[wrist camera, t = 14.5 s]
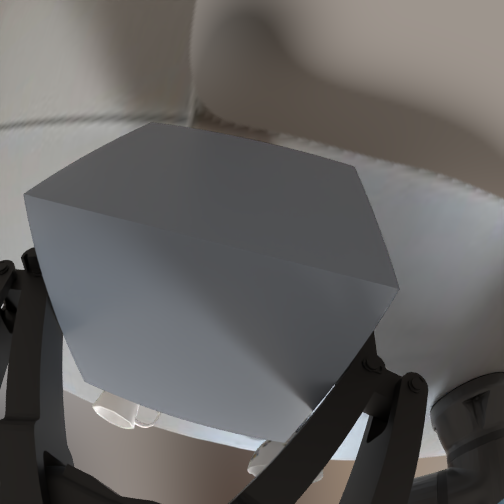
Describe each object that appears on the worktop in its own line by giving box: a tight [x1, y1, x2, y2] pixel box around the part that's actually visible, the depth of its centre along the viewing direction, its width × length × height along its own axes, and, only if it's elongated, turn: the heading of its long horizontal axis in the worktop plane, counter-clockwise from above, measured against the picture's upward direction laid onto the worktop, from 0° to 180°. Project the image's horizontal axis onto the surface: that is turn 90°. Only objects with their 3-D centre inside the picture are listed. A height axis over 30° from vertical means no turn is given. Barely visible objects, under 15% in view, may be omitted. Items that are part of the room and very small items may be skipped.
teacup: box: [247, 432, 323, 483], centre depth 44 cm, size 15×12×8 cm
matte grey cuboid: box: [23, 122, 399, 443], centre depth 13 cm, size 10×10×9 cm
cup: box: [92, 391, 161, 429], centre depth 41 cm, size 7×10×8 cm
